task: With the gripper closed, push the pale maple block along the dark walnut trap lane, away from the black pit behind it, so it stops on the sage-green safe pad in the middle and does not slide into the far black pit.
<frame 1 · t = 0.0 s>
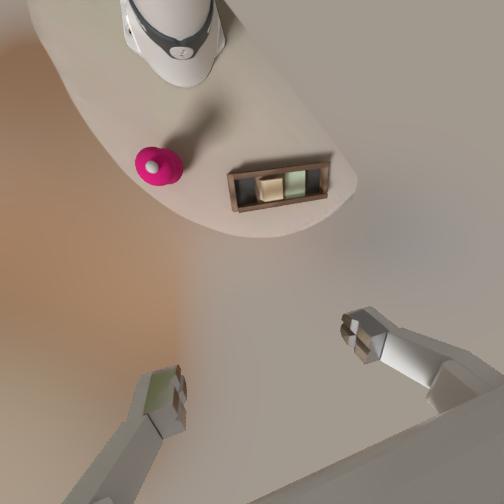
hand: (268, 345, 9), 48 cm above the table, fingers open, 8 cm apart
trap lane: (278, 185, 55), on the table
maple block: (268, 188, 52), point 2 cm above the table, touching trap lane
pepper mill: (168, 166, 47), on the table
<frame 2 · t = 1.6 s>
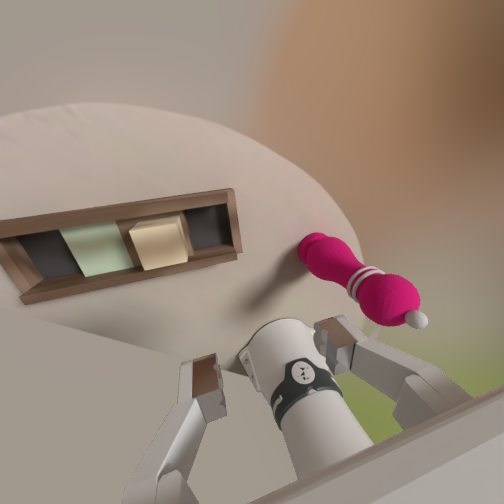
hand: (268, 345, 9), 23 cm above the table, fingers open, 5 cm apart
trap lane: (137, 236, 28), on the table
maple block: (164, 236, 26), point 2 cm above the table, touching trap lane
pepper mill: (312, 247, 36), on the table
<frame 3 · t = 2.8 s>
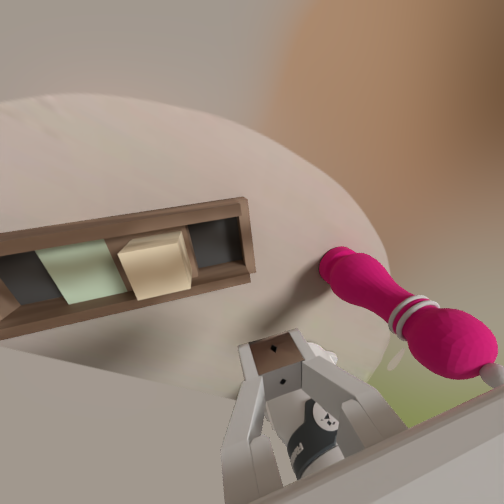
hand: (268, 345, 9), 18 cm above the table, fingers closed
trap lane: (132, 254, 23), on the table
maple block: (164, 255, 22), point 2 cm above the table, touching trap lane
pepper mill: (335, 263, 32), on the table
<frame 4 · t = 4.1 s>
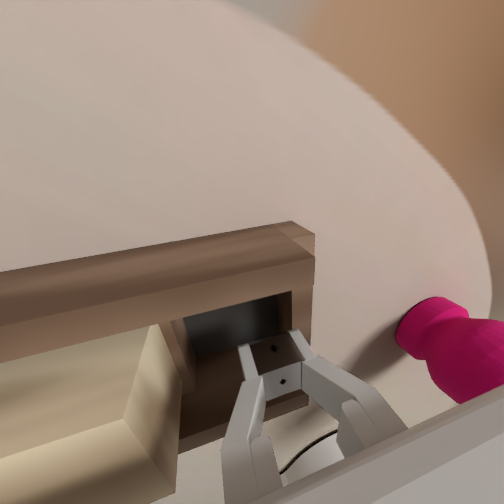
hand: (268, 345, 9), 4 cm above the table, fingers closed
trap lane: (49, 347, 10), on the table
maple block: (113, 367, 9), point 2 cm above the table, touching trap lane
pepper mill: (419, 320, 19), on the table
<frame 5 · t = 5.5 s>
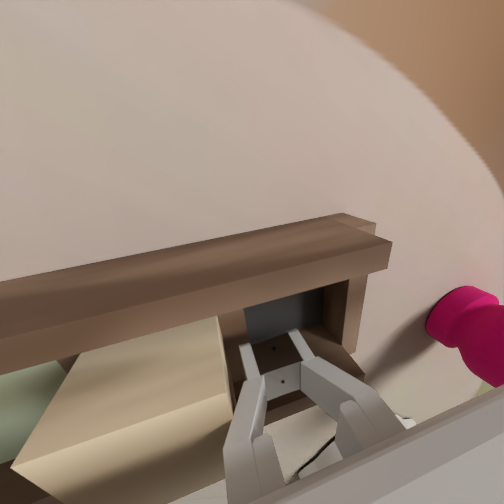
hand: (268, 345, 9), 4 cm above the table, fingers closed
trap lane: (120, 336, 11), on the table
maple block: (172, 356, 9), point 3 cm above the table, touching gripper
pepper mill: (447, 310, 20), on the table
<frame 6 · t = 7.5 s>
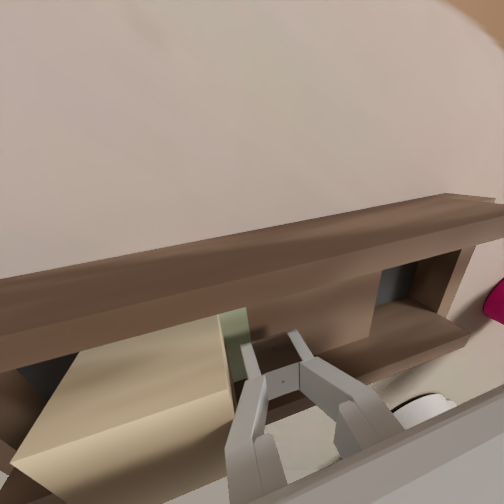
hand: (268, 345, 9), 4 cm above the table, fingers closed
trap lane: (255, 299, 13), on the table
maple block: (173, 353, 9), point 2 cm above the table, touching gripper, trap lane
pepper mill: (503, 291, 21), on the table
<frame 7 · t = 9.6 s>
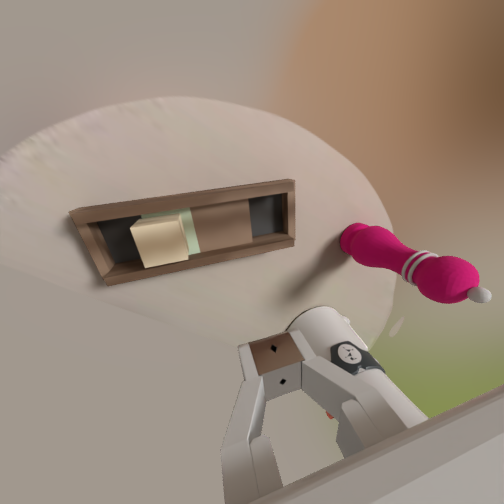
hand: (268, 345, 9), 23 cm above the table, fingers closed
trap lane: (201, 223, 29), on the table
maple block: (165, 234, 26), point 2 cm above the table, touching trap lane
pepper mill: (352, 237, 38), on the table
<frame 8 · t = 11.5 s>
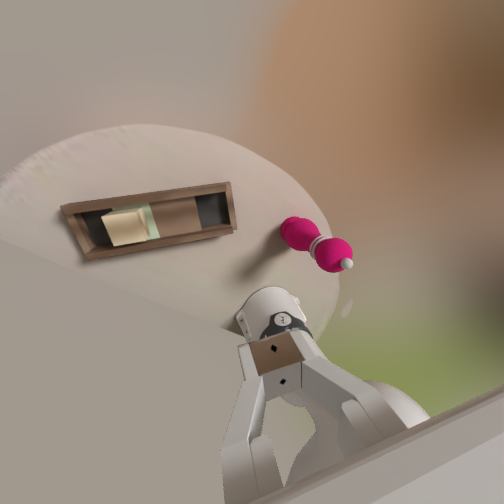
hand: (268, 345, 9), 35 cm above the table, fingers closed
trap lane: (162, 216, 38), on the table
maple block: (131, 223, 35), point 2 cm above the table, touching trap lane
pepper mill: (292, 228, 47), on the table
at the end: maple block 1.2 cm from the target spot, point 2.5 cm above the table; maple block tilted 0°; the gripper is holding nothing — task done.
